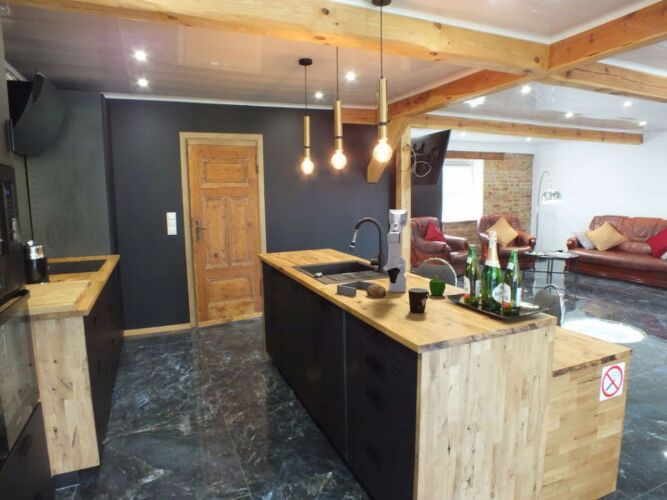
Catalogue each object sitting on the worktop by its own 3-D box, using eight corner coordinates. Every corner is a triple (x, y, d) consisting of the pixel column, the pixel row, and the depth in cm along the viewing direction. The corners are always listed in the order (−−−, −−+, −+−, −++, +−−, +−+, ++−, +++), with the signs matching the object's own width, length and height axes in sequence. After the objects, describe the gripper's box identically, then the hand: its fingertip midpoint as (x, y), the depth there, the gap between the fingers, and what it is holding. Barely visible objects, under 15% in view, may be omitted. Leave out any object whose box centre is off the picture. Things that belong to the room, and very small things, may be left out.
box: (376, 290, 232) (376, 283, 232) (354, 296, 219) (354, 288, 218) (358, 287, 240) (358, 280, 240) (337, 292, 227) (337, 285, 226)
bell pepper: (445, 297, 219) (446, 278, 218) (429, 296, 221) (429, 277, 220) (444, 293, 227) (445, 275, 226) (428, 292, 229) (429, 274, 228)
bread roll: (365, 301, 223) (360, 289, 219) (376, 291, 229) (372, 278, 225) (379, 305, 216) (375, 292, 212) (391, 294, 222) (387, 281, 218)
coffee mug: (412, 315, 186) (413, 292, 185) (404, 309, 194) (405, 288, 193) (436, 313, 189) (437, 291, 188) (427, 308, 198) (428, 287, 196)
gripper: (395, 253, 219) (394, 279, 221) (378, 256, 209) (377, 283, 210) (407, 255, 215) (406, 281, 216) (390, 258, 204) (389, 286, 206)
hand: (393, 283), depth 213 cm, fingers closed
